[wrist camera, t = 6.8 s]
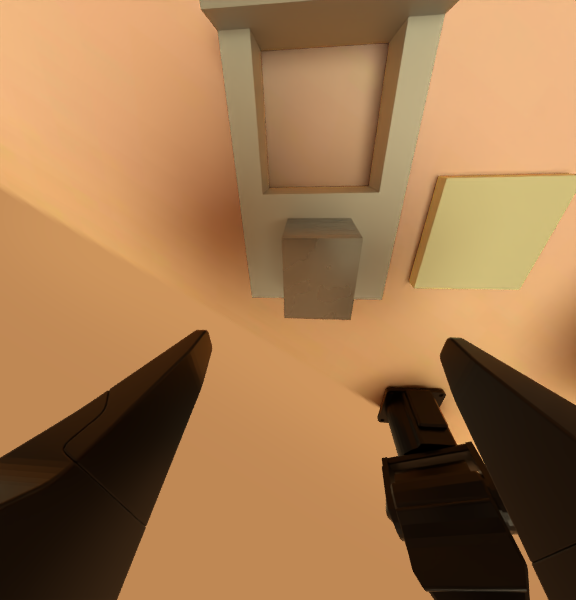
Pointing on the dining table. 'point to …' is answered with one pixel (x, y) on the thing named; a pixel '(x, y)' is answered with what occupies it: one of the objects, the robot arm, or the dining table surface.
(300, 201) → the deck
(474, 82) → the dining table surface
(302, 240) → the block
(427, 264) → the pad
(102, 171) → the dining table surface
